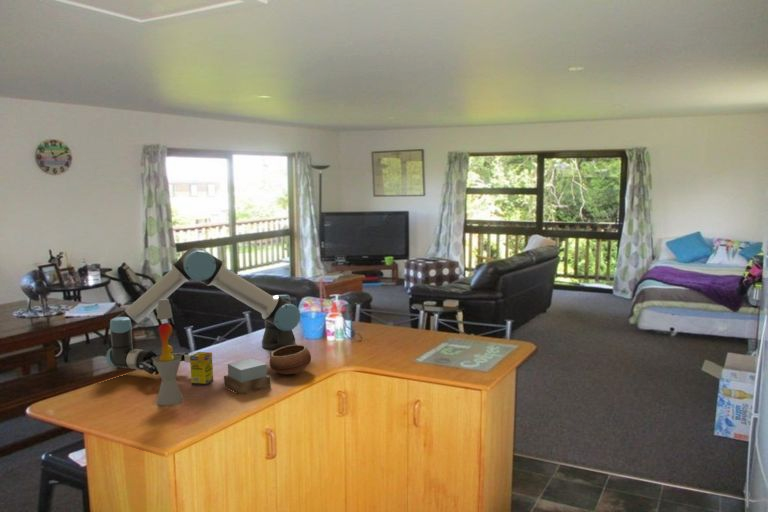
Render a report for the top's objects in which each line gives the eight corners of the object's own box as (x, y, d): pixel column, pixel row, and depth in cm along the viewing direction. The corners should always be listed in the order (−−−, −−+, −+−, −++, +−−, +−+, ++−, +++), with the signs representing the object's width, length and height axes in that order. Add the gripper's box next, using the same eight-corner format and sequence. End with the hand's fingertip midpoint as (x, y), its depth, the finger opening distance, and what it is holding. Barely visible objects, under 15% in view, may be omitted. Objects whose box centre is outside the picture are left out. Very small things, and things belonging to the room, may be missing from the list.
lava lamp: (183, 403, 197) (177, 300, 193) (154, 406, 194) (147, 302, 190) (184, 394, 205) (178, 295, 201) (157, 397, 203) (150, 297, 199)
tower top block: (253, 370, 219) (252, 358, 218) (266, 376, 211) (266, 364, 211) (228, 376, 212) (227, 363, 212) (241, 382, 205) (240, 370, 204)
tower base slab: (254, 380, 221) (253, 368, 220) (270, 388, 211) (270, 376, 211) (224, 388, 213) (223, 376, 212) (240, 396, 204) (239, 384, 203)
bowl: (266, 370, 231) (265, 345, 230) (305, 364, 238) (304, 340, 236) (275, 381, 217) (274, 355, 216) (316, 375, 223) (315, 350, 222)
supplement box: (206, 385, 214) (204, 356, 213) (191, 385, 215) (189, 356, 214) (213, 380, 220) (212, 352, 219) (199, 379, 221) (197, 351, 220)
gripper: (165, 360, 238) (208, 365, 231) (117, 379, 215) (163, 385, 208) (164, 342, 238) (207, 346, 230) (116, 359, 215) (162, 364, 207)
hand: (187, 364), depth 219 cm, fingers open, 13 cm apart
